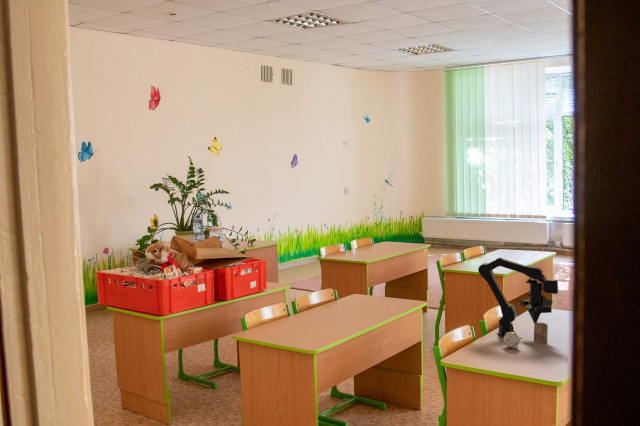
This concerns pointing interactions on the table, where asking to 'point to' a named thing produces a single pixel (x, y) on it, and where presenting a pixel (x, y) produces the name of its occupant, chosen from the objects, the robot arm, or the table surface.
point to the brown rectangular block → (540, 332)
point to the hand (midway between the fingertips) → (535, 323)
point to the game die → (511, 339)
